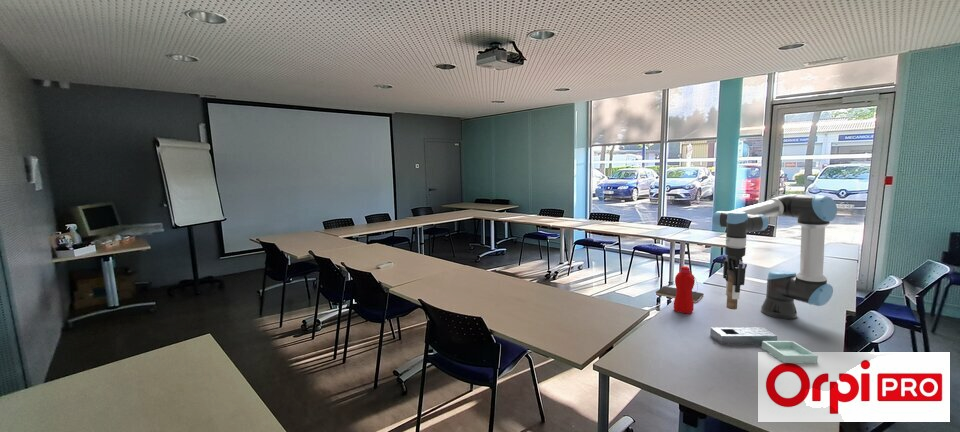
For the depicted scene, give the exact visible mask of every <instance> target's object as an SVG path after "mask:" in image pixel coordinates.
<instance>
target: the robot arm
mask: <svg viewBox="0 0 960 432" xmlns="http://www.w3.org/2000/svg"><path fill="white" fill-rule="evenodd" d="M837 214H838V207H837V203H836V201H835V200H834V199H833V198H832V197H830V196H825V195H820V194H800V193H791V194H783V195H779V196H775V197H772V198H771V197H770V198H768V199H767V200H765V201H764V202H760V203H759V202H758V203H756V204H753V205H748V206H745V207H741V208H736V209H733V210H728V211H725V210H724V211H723V210H719V211H715V213H714V214H713V215H712V218H711V219H712V224H714V225H715V226H716V227H721V228H726V234H725V236H726V237H725V245H726V246H725V248H724V249H725V250H724V254H725V255H726V256H723V257H722V261H723V271H722V272H723V273H722V276H723V277H722V278H723V279H725V281H726V283H725V284H726V285H725V287H726V288H725V296H727V289H728V274H727V269H729V270H733V272H734V284H733V290H732V299H738V300H740V294H741V286H745V281H746V269H747V267H748V265H747V263H744V262H743V260H744V259H743V257H745V256H746V246H747V233H753V232H762V231H765V230H766V229H767V228H768V227H769V225H770V224H769V222H770V221H769V219H768V218H770V217H772V218H777V217H790V218H795V219H797V223H798V225H800V226H801V231H800V233H801V234H800V254H799V255H800V258H799V259H800V260H799V265H800V266H799V273H797V272H794V271H790V270H789V271H788V270H771V271H769V272H768V273H767V278H766V281H767V282H766V283H767V284H766V293H765V296H766V297H765V299H764V301H763V303H762V305H761V306H760V307H761V308H760V312H762V313H763V314H764V315H767V316H769V317H772V318H778V319H783V320H793V319H796V318H797V317H798V312H797V307H796V305H795V300H796V301H799V302H802V303H806V304H809V305H811V306H812V305H813V306H816V307H822V306H823V307H824V305H827V304H828V302H829V301H830V300H831V298H832V296H833V294H834V288H833V286H832V285H831V284H829V283H828V278H827V277H826V276H825V275H824V258H825V257H824V256H825V240H826V239H825V236H826V234H825V233H826V227H827V226H829V225H830V222H831V221H834V219H835V218H836V216H837Z"/></svg>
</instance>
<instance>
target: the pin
mask: <svg viewBox="0 0 960 432" xmlns="http://www.w3.org/2000/svg"><path fill="white" fill-rule="evenodd" d="M727 274H728V289H727V295H726V309H728V310H737V309H738V300H739V299H732V290H733V284H734V272H733V270H729V269H727Z"/></svg>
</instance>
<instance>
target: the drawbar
mask: <svg viewBox="0 0 960 432" xmlns="http://www.w3.org/2000/svg"><path fill="white" fill-rule="evenodd" d="M709 333H710V335H709V336H710V337H711V338H712V339H714V340H715V341H716V342H717V343H719V344H720V345H721V346H722V345H723V346H725V345H740V346H741V345H755V346H756V345H757V346H758V345H761V346H762V341H778V335H776V334H775V333H773V332H772V331H770V330H768V329H766V328H765V327H763V326H762V327H758V326H757V327H754V326H753V327H752V326H751V327H710V332H709Z"/></svg>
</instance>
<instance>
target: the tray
mask: <svg viewBox="0 0 960 432" xmlns="http://www.w3.org/2000/svg"><path fill="white" fill-rule="evenodd" d="M761 349H762V350H764V351H765V352H767V353H769V354H770V353H771V354H770V355H772V356H773V357H775V358H776V359H777V360H779V361H780V362H782V363H783V364H817V363H818V358H819V355H817V354H816V353H814V352H813V351H811V350H809V349H807V348H805V347H804V346H802V345H800V344H799V343H797V342H795V341H794V340H777V341H762V345H761Z"/></svg>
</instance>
